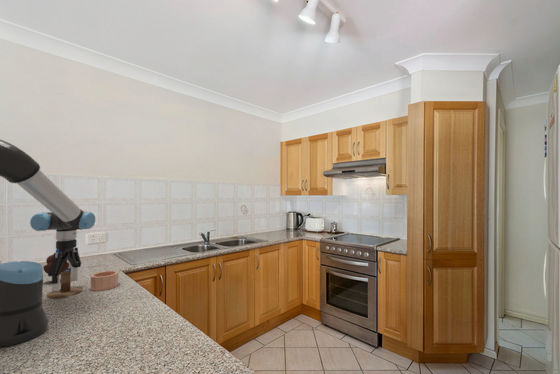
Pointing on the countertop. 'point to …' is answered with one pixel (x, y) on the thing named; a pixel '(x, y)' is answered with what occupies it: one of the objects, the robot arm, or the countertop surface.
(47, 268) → the brown tree figurine
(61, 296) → the lid
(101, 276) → the bowl
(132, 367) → the countertop surface
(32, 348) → the countertop surface
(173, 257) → the countertop surface
